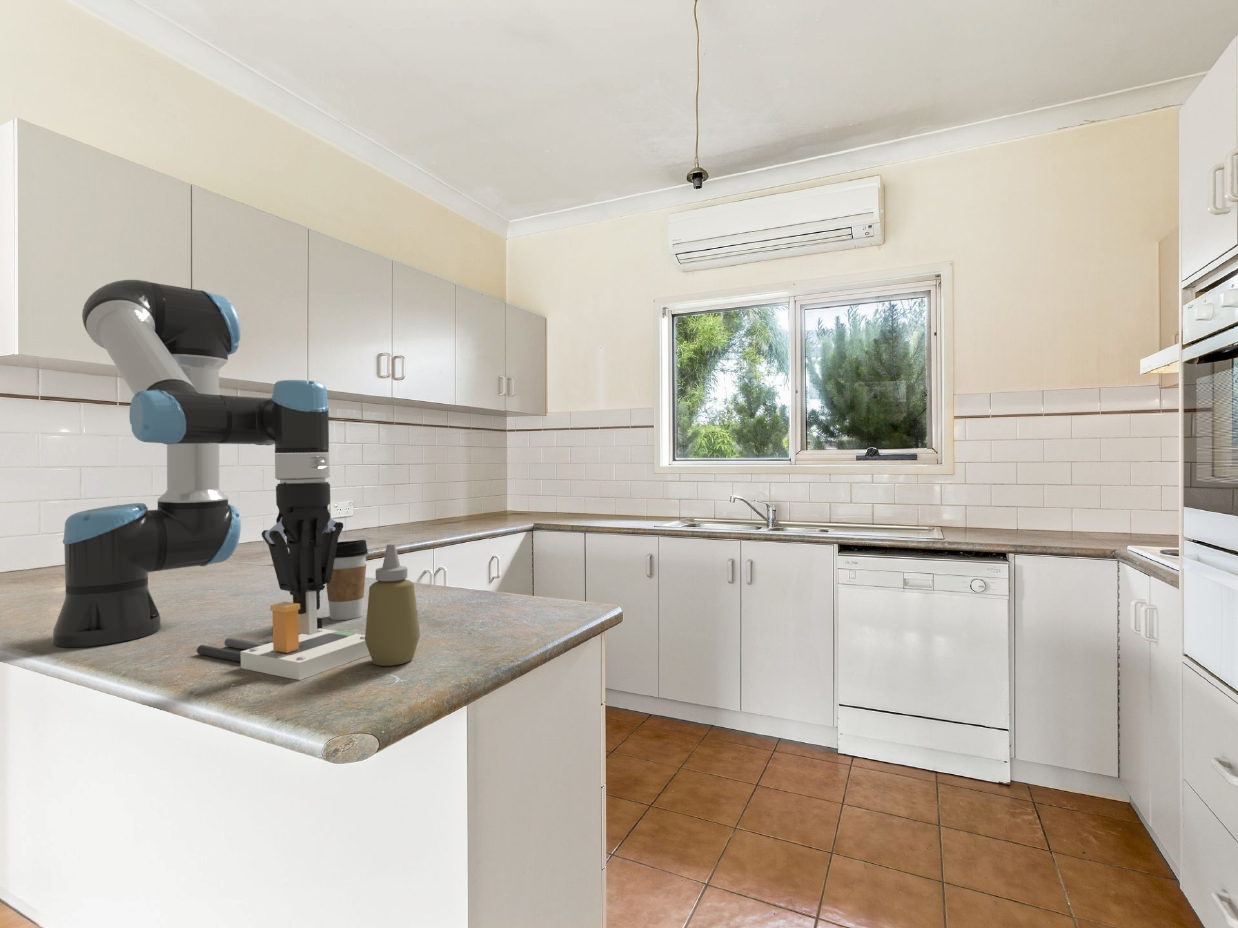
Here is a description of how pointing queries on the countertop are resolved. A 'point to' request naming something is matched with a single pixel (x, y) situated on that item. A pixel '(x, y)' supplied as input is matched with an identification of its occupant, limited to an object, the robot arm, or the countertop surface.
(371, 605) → the squeeze bottle
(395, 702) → the countertop surface
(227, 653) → the cord
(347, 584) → the coffee cup
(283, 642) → the lever
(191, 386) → the robot arm
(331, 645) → the panel
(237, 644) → the cord
